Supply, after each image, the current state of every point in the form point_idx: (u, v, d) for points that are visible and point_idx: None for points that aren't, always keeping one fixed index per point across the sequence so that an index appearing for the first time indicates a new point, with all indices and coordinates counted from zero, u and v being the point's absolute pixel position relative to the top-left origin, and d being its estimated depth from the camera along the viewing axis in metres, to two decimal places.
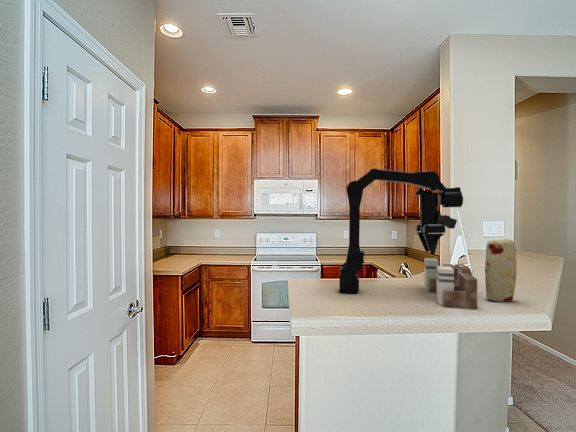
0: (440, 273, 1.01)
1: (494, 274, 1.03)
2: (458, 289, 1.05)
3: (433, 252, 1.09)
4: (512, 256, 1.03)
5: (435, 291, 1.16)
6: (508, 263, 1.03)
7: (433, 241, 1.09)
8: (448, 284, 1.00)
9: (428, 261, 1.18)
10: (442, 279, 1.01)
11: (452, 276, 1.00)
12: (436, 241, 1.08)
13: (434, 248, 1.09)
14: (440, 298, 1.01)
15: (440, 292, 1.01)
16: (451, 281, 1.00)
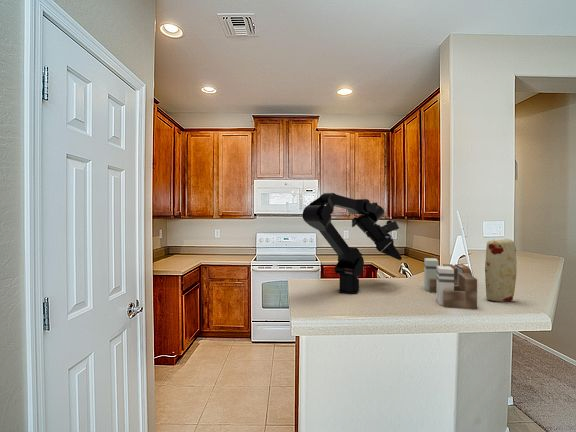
0: (440, 273, 1.01)
1: (494, 274, 1.03)
2: (458, 289, 1.05)
3: (400, 257, 1.19)
4: (512, 256, 1.03)
5: (435, 291, 1.16)
6: (508, 263, 1.03)
7: (392, 250, 1.19)
8: (448, 284, 1.00)
9: (428, 261, 1.18)
10: (442, 279, 1.01)
11: (452, 276, 1.00)
12: (394, 249, 1.19)
13: (397, 254, 1.19)
14: (440, 298, 1.01)
15: (440, 292, 1.01)
16: (451, 281, 1.00)
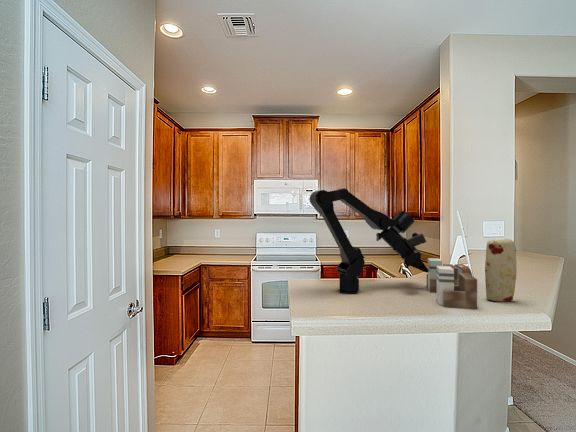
0: (440, 273, 1.01)
1: (494, 274, 1.03)
2: (458, 289, 1.05)
3: (427, 270, 1.20)
4: (512, 256, 1.03)
5: (435, 291, 1.16)
6: (508, 263, 1.03)
7: (419, 263, 1.20)
8: (448, 284, 1.00)
9: (432, 261, 1.18)
10: (442, 279, 1.01)
11: (452, 276, 1.00)
12: (421, 262, 1.20)
13: (424, 267, 1.20)
14: (440, 298, 1.01)
15: (440, 292, 1.01)
16: (451, 281, 1.00)
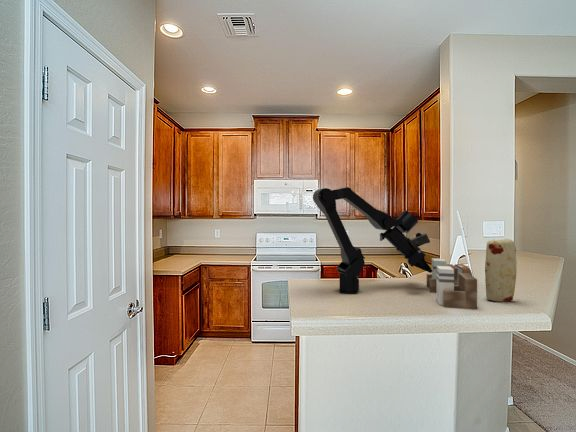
0: (440, 273, 1.01)
1: (494, 274, 1.03)
2: (458, 289, 1.05)
3: (430, 270, 1.20)
4: (512, 256, 1.03)
5: (435, 291, 1.16)
6: (508, 263, 1.03)
7: (423, 263, 1.20)
8: (448, 284, 1.00)
9: (436, 261, 1.17)
10: (442, 279, 1.01)
11: (452, 276, 1.00)
12: (425, 262, 1.20)
13: (428, 267, 1.20)
14: (440, 298, 1.01)
15: (440, 292, 1.01)
16: (451, 281, 1.00)
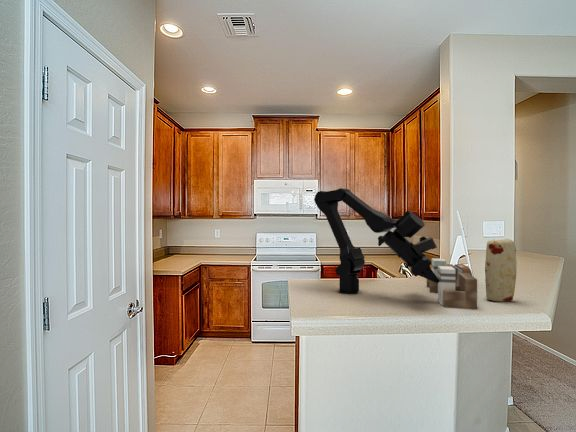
0: (441, 273, 1.01)
1: (494, 274, 1.03)
2: (458, 289, 1.05)
3: (437, 280, 1.03)
4: (512, 256, 1.03)
5: (435, 291, 1.16)
6: (508, 263, 1.03)
7: (428, 272, 1.03)
8: (449, 284, 1.00)
9: (436, 261, 1.17)
10: (444, 279, 1.01)
11: (453, 276, 1.00)
12: (430, 270, 1.03)
13: (434, 276, 1.03)
14: (441, 298, 1.01)
15: (441, 292, 1.01)
16: (452, 281, 1.00)
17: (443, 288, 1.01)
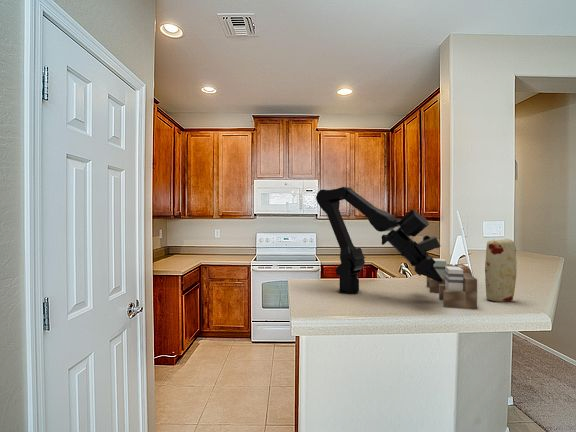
0: (449, 273, 1.00)
1: (494, 274, 1.03)
2: None
3: (440, 279, 1.03)
4: (512, 256, 1.03)
5: (435, 291, 1.16)
6: (508, 263, 1.03)
7: (431, 271, 1.03)
8: (457, 284, 1.00)
9: (436, 261, 1.17)
10: (451, 280, 1.00)
11: (461, 276, 0.99)
12: (434, 269, 1.03)
13: (438, 276, 1.03)
14: None
15: None
16: (460, 281, 0.99)
17: (451, 288, 1.00)
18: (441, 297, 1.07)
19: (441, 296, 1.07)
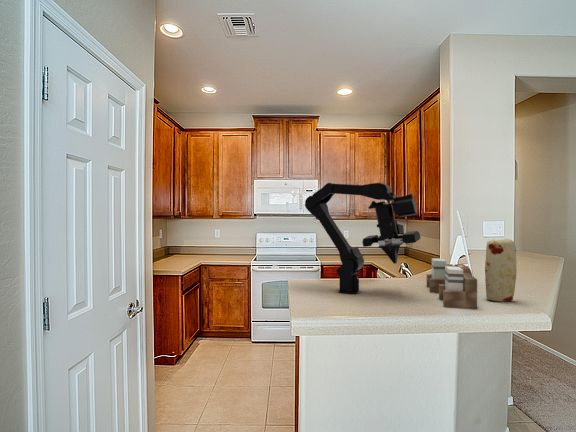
0: (449, 273, 1.00)
1: (494, 274, 1.03)
2: None
3: (396, 261, 1.14)
4: (512, 256, 1.03)
5: (435, 291, 1.16)
6: (508, 263, 1.03)
7: (396, 250, 1.13)
8: (457, 284, 1.00)
9: (436, 261, 1.17)
10: (451, 280, 1.00)
11: (461, 276, 0.99)
12: (398, 249, 1.13)
13: (397, 257, 1.14)
14: None
15: None
16: (460, 281, 0.99)
17: (451, 288, 1.00)
18: (441, 297, 1.07)
19: (441, 296, 1.07)
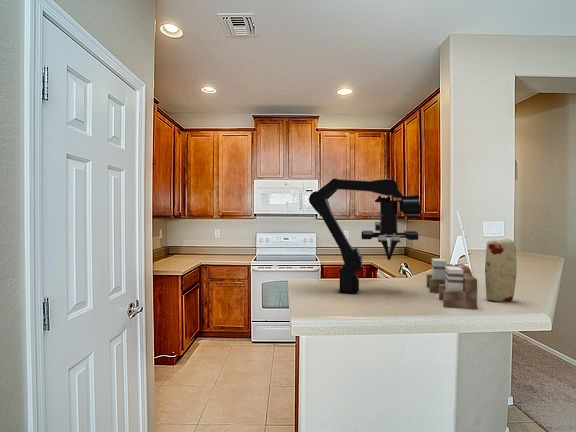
0: (449, 273, 1.00)
1: (494, 274, 1.03)
2: None
3: (390, 257, 1.16)
4: (512, 256, 1.03)
5: (435, 291, 1.16)
6: (508, 263, 1.03)
7: None
8: (457, 284, 1.00)
9: (436, 261, 1.17)
10: (451, 280, 1.00)
11: (461, 276, 0.99)
12: None
13: None
14: None
15: None
16: (460, 281, 0.99)
17: (451, 288, 1.00)
18: (441, 297, 1.07)
19: (441, 296, 1.07)
